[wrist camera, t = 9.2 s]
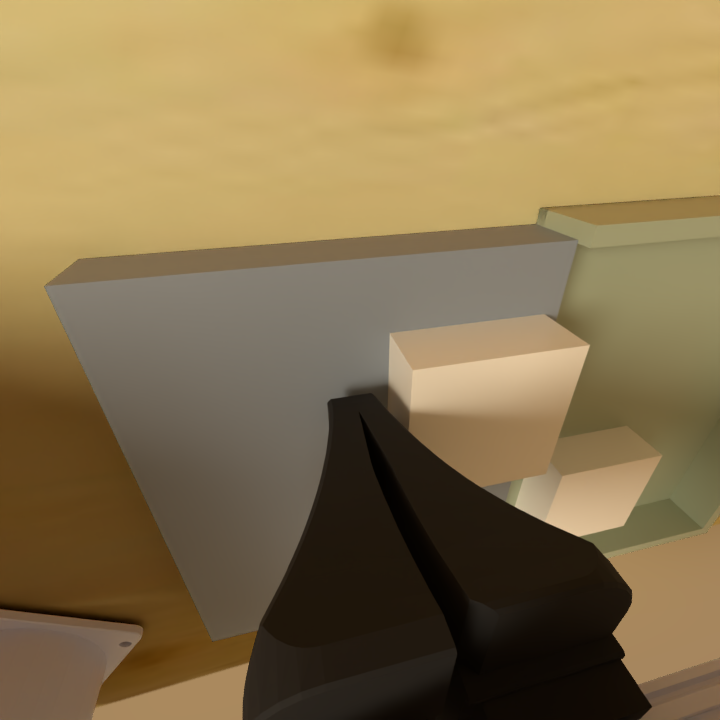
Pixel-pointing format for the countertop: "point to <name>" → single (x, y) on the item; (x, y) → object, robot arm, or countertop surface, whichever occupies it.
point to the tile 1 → (486, 393)
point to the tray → (648, 352)
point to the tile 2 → (590, 481)
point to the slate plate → (271, 374)
